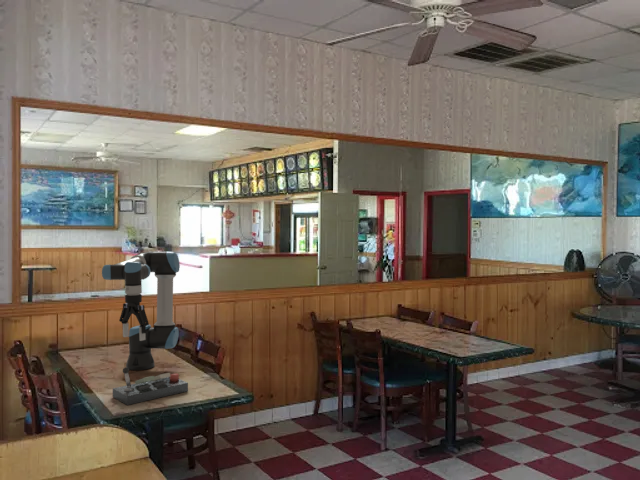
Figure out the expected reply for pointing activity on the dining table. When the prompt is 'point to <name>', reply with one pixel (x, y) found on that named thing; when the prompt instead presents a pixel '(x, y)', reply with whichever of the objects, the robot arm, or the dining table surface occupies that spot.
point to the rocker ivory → (161, 376)
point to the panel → (149, 390)
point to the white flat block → (144, 380)
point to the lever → (127, 377)
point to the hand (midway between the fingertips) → (134, 338)
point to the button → (174, 377)
